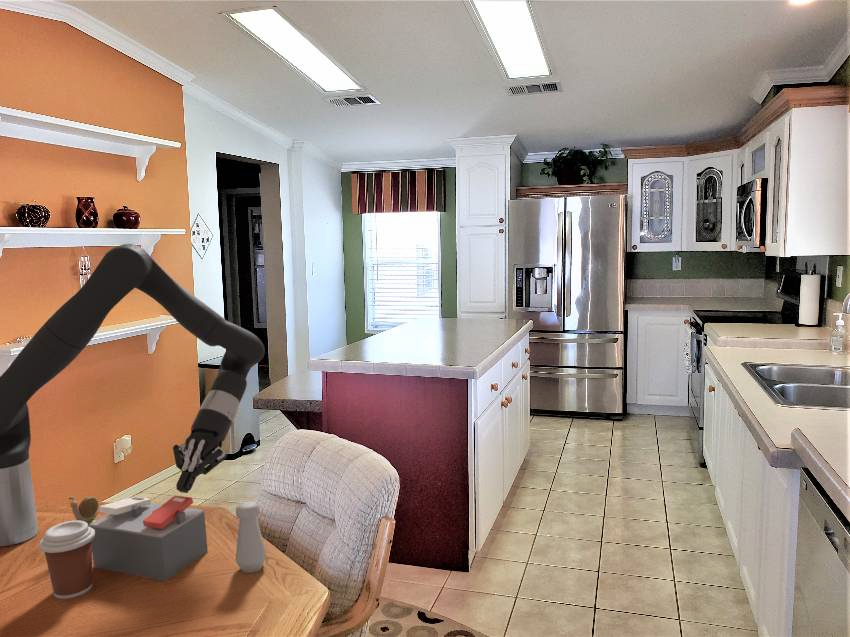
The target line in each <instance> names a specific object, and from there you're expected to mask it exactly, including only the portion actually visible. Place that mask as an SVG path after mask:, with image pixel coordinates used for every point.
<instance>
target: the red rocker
mask: <svg viewBox="0 0 850 637" xmlns="http://www.w3.org/2000/svg"><path fill="white" fill-rule="evenodd" d="M162 504H163V505H162V506H161V507H159V508H158V509H157V510H156V511H154V512H153V513H152V514H151V515H149V516H148V517H147V518H146V519H144V520H143V524H144V526H146V527H152V528H158V529H163V528H164V527H165V526H166V525H167V524H169V523H170V522H171V521H172V520H173V519H175V518H176V514H178V513H180V512H181V511H182V512H183V511H184V510H185V509H187V508H190V506H191V505H192V504H194V500H193V497H189V496H182V495H173V496H172V497H171V498H169V499H168V500H167V501H166V502H164V503H162Z"/></svg>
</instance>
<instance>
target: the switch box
mask: <svg viewBox="0 0 850 637" xmlns="http://www.w3.org/2000/svg"><path fill="white" fill-rule="evenodd" d="M163 504H164V503H156V502H151V505H148V506H144V507H141V506H140V505H138V506H136V507H134V508H132V510H131V511H128V512H124V513H121V514H118V515H113V514H106V515H104V516H103V517H101V518H99V519H96V520H97V521H95V522H93V523H91V524H89V527H91V528H92V529H94V530H95V538H94V539H93V540H92V564H93V568H96V569H101V570H107V571H111V572H117V573H122V574H125V575H126V574H127V575H132V576H138V577H141V578H147V579H153V580H158V581H163V582H166V581H168V580H170V578H172V577H174V576H175V575H176V574H178V573H180V572H181V571H182V570H183V569H185V568H186V567H188V566H189V565H190V564H192V563H194V562H196V560H198V559H199V558H201V557H202V556H203V555H205V554H206V553H208V552H209V550H208V540H207V527H206V518H205V509H201V508H200V509H199V508H192V507H188V508H187V509H185V510H184V511H183V512H182V511H181V512H180V513H178V514H176V518H175V519H173V520H172V521H171V522H170V523H169V524H167V525H166V526H165V527H164V528H163V529H158V528H152V527H146V526H144V524H143V520H144V519H146V518H147V517H148V516H149V515H151V514H152V513H153V512H154V511H156V510H157V509H158V508H159V507H161V506H162V505H163Z"/></svg>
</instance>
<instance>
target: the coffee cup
mask: <svg viewBox="0 0 850 637" xmlns="http://www.w3.org/2000/svg"><path fill="white" fill-rule="evenodd" d="M94 538H95V530H94V529H92V528H91V527H88V523H86V522H85V521H79V520H77V519H76V520H69V521H64V522H61V523H57V524H54V525H53V526H51V527H49V528H48V529H47V530H45V533H44V537H43V538H42V539H41V540H40V541H39V545H38V546H39V550H41V552H43V553H44V556H45V559H46V564H47V569H48V574H49V577H50V582H51V587H52V592H53V597H55V598H56V599H58V600H67V599H73V598H77V597H79V596H82V595H84V594H86V593H87V592H89V591H90V590H91V589H92V587H93V584H94V583H93V554H92V540H93V539H94Z"/></svg>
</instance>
